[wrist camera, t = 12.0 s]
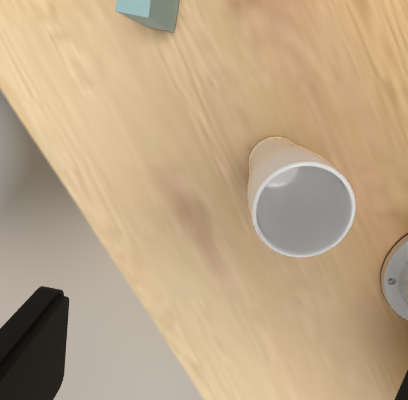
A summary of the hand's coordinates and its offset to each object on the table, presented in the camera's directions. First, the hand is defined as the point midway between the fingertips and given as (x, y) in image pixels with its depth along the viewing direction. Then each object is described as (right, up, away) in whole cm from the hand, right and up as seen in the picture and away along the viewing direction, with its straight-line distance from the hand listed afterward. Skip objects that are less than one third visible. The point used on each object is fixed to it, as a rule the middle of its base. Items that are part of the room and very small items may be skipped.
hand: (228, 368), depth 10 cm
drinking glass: (+7, +9, +28) cm, 30 cm away
